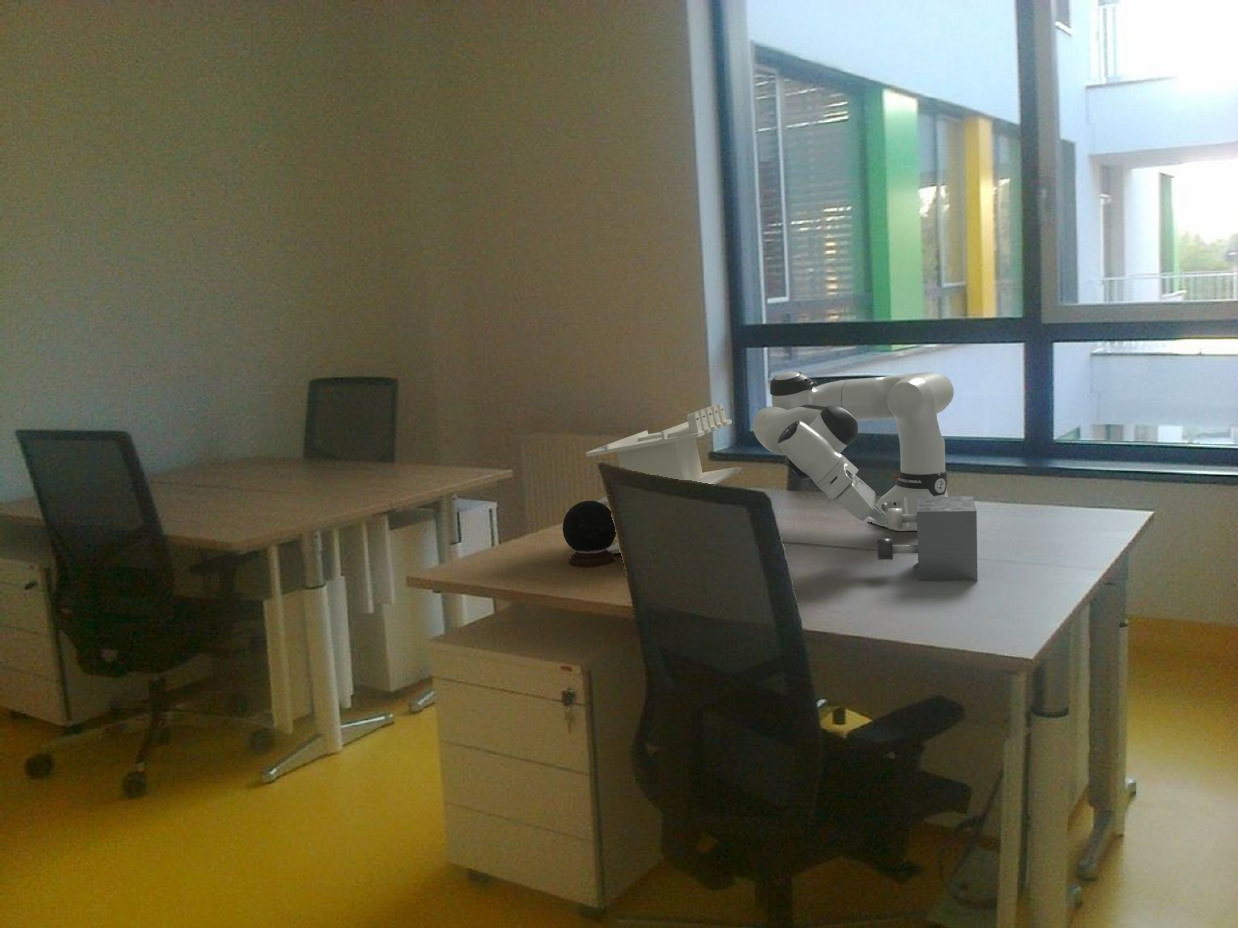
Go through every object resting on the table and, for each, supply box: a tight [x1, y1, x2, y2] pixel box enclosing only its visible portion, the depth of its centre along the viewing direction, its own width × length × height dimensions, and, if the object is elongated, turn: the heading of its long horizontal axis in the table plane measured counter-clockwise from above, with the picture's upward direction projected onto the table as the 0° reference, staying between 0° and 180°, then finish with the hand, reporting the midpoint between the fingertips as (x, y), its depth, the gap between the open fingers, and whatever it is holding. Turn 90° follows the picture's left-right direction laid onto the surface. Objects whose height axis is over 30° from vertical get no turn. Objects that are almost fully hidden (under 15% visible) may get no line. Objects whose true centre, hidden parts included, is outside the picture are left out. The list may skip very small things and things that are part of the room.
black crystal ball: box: [562, 500, 617, 568], centre depth 281 cm, size 13×13×15 cm
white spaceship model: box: [585, 403, 743, 555], centre depth 292 cm, size 26×31×35 cm
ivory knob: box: [887, 508, 917, 530], centre depth 256 cm, size 10×5×5 cm, turn 76°
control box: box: [916, 495, 978, 582], centre depth 251 cm, size 12×16×15 cm
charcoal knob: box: [877, 537, 918, 561], centre depth 250 cm, size 10×5×5 cm, turn 76°
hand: (885, 521), depth 258 cm, fingers closed, pressing on ivory knob
